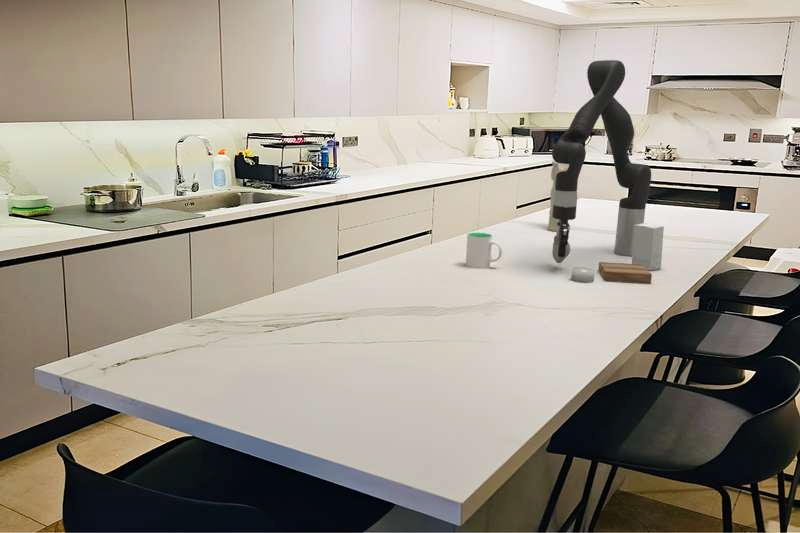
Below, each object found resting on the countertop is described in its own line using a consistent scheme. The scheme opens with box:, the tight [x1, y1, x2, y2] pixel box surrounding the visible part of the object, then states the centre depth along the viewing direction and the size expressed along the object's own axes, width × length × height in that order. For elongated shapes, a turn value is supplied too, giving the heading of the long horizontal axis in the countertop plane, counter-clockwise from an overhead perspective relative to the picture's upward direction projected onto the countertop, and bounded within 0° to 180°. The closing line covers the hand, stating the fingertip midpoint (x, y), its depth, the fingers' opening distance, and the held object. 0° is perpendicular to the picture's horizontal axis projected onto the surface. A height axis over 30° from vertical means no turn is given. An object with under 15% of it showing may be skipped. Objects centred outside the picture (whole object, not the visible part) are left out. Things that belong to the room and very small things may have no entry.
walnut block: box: [597, 261, 653, 285], centre depth 237 cm, size 14×14×3 cm
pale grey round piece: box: [570, 266, 596, 284], centre depth 231 cm, size 7×7×4 cm
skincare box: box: [631, 223, 665, 271], centre depth 250 cm, size 8×6×15 cm
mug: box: [465, 232, 503, 269], centre depth 244 cm, size 12×8×10 cm, turn 65°
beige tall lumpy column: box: [547, 160, 569, 232], centre depth 311 cm, size 9×8×30 cm
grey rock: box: [552, 234, 571, 264], centre depth 244 cm, size 6×4×10 cm, turn 71°
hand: (560, 255), depth 244 cm, fingers closed on grey rock, 3 cm apart
